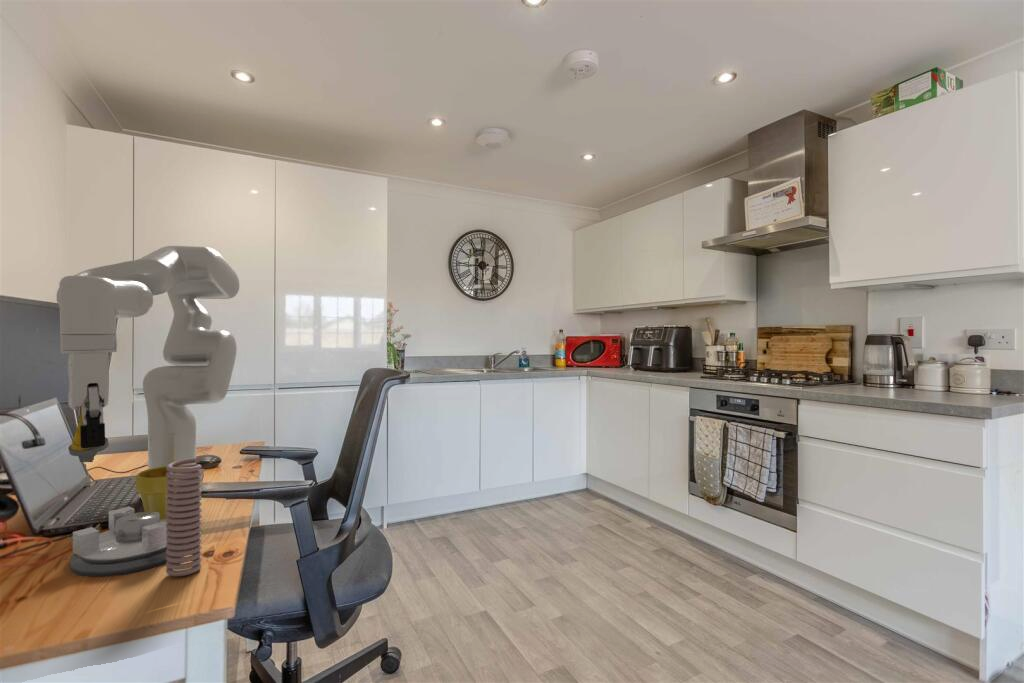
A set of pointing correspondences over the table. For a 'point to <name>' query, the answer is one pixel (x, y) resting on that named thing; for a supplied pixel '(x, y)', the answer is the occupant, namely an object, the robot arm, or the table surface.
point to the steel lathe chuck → (122, 537)
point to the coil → (183, 517)
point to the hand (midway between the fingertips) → (91, 442)
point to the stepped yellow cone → (84, 453)
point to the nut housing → (117, 565)
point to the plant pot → (153, 489)
